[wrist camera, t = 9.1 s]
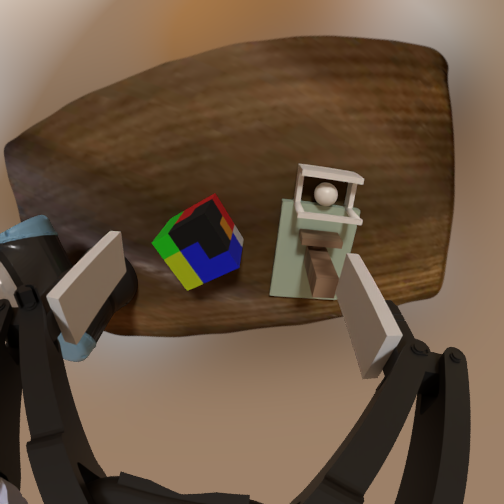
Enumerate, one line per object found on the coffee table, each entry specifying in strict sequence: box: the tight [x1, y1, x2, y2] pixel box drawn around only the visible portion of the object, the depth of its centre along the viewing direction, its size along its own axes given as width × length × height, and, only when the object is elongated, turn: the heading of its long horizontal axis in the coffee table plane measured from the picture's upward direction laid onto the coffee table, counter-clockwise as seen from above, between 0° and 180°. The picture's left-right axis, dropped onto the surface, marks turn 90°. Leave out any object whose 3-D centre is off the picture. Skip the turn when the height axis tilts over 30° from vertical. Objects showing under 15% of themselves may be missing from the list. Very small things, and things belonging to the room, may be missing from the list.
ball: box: [314, 182, 338, 206], centre depth 44 cm, size 4×4×4 cm
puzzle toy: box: [152, 193, 243, 291], centre depth 46 cm, size 10×10×10 cm
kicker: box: [299, 229, 343, 299], centre depth 44 cm, size 7×6×11 cm
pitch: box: [270, 164, 364, 300], centre depth 47 cm, size 14×26×8 cm, turn 175°
